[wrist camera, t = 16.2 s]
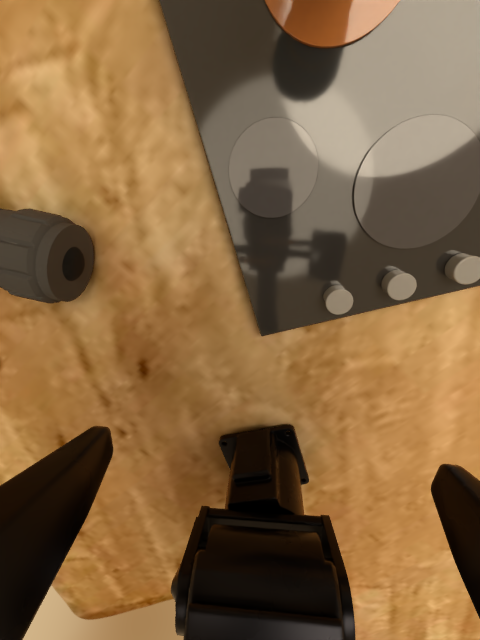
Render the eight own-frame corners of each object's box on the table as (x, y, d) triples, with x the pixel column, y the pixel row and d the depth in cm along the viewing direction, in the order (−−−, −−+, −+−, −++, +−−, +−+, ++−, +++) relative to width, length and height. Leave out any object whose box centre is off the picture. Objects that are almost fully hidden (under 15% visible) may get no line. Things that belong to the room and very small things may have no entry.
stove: (487, 275, 18) (515, 285, 16) (261, 329, 21) (260, 343, 19) (493, -268, 11) (546, -377, 9) (141, -71, 13) (118, -119, 11)
